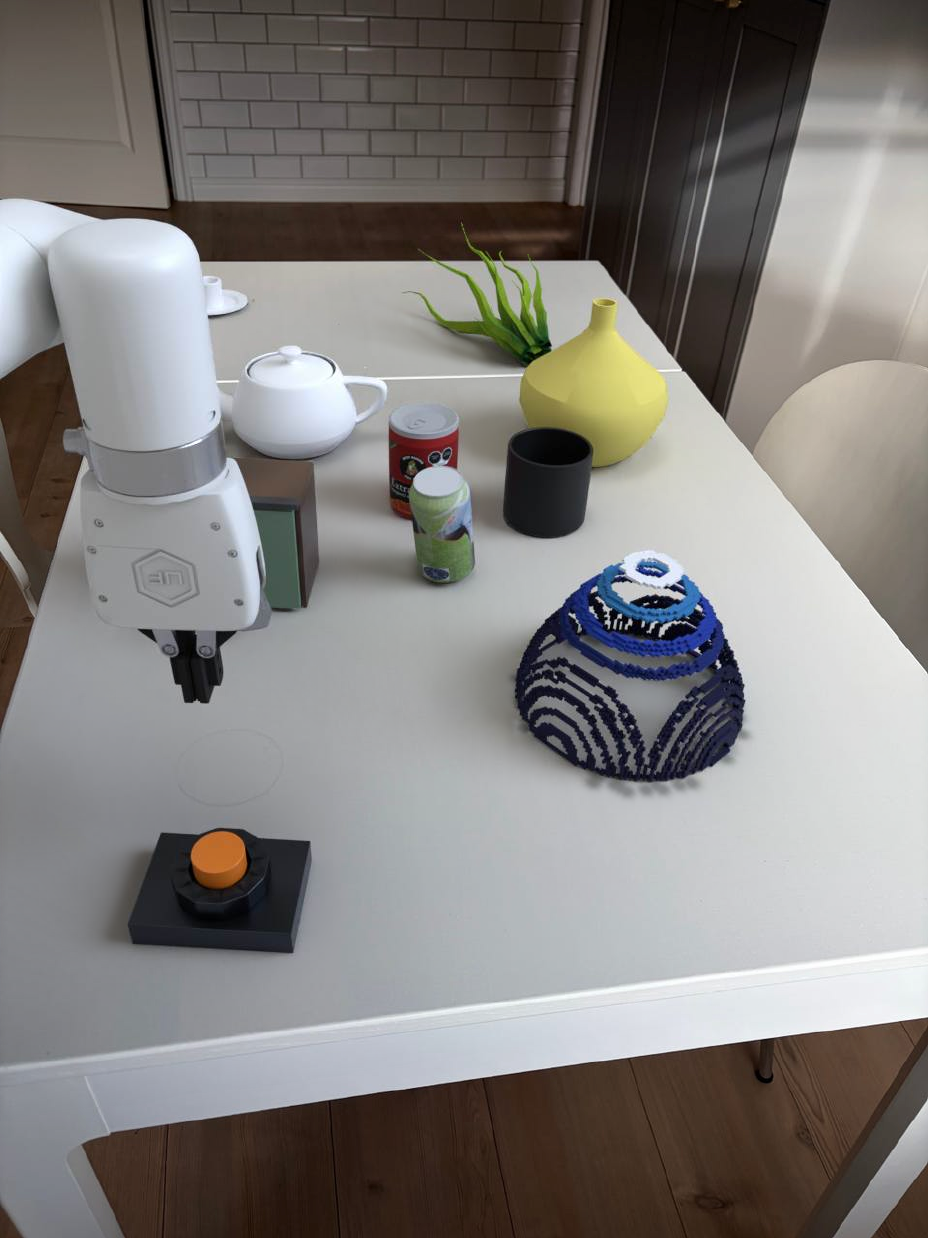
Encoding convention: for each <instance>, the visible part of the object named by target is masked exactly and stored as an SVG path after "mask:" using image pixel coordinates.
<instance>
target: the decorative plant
mask: <svg viewBox="0 0 928 1238" xmlns="http://www.w3.org/2000/svg"><path fill="white" fill-rule="evenodd" d="M460 224H461V228H462V231H463V233H464V236H465V241H466V242H467V245H468V247H469V248H470V250H471V251H472V252H474V253H475V254H477V255H478V256H479V257H480V259H481V260H482V261H483V262H484V264H485V266H486V268H487V270H488V272H489V274H490V277H491V279H492V282H493V283H494V285H495V294H496V295H495V296H496V303H497V312H498V314H499V318H498V317H496V316H495V314H494V312H493V308H492V307H491V306H490V304H489V302H488V300H487V297H486V295H485V293H484V291H483V290H482V289H481V288H480V286H479V285H478V284H477V282H476V281H475V280H474V279H473V277H472V276H471V275H470V274H469V273H466V272H464V271H462V270H458V269H456V268H454V267H451V266H450V265H448V264H445V263H443V262H441V261H439V260H437V259H436V258H433V257H431V256H430V255H428V254H426V253H425V252H424V251H422V250H421V249H420V248H417V249H418V251H420V252H421V253H422V254H423V255H425V256H426V257H428V258H429V259H431V260H432V261H433V262H435V263H436V264H438V265H440V266H441V267H443V268H444V269H446V270H448V271H450V272H451V273H454V274H456V275H458V276H460V277H462V278H463V279H465V281H466V283H467V285H468V287H469V289H470V291H471V293H472V295H473V297H474V299H475V301H476V304H477V308H478V310H479V313H480V315H481V318H482V320H479V319H478V318H477V317H474V319H475V320H469V321H468V320H465V321H463V320H461V321H460V320H459V321H458V320H446V319H444V318H443V317H442V316H441V315H440V314H439V313H438V312H437V311H436V310H435V309H434V307H433V306H432V305H431V303H430V301H429V300H428V298H427V297H425V296H424V295H423V293H421V292H417V291H416V292H415V291H411V290H407V291H403V292H402V294H407V293H412V294H415V295H419V296H420V298H422V299H423V301H424V303H425V305H426V307H427V309H428V311H429V314H431V315H432V316H433V317H434V319H435V320H436V321H437V322H438V323H439V324H440V325H441V326H443V327H445V328H448V329H449V330H453V331H455V332H457V333H459V334H467V335H468V334H469V335H481V336H486V337H488V338H491V339H492V340H493V341H494V342H496V344H497V345H498V346H500V348H502V349H503V350H505V351H506V352H508V353H510V354H511V355H513V357H515V358H516V359H517V361H518V362H520V363H521V364H525V366H527V367H528V366H529V365H530V364H531V363H532V362H533V361H534V360H536V359H538V358H540V357H542V356H543V355H545V354H547V353H549V352H551V351H553V349H552V347H553V345H552V342H551V340H550V335H549V327H548V322H547V319H548V318H547V317H548V315H547V311H546V309H545V306H544V303H543V299H542V294H543V293H542V292H543V287H542V284H541V278H540V274H539V273H540V272H539V270H538V269H537V268H536V266H535V265H534V264H533V262H532V260H531V258H530V256H529V255H527V257H528V260H529V262H530V264H531V265H532V267H533V268H534V270H535V287H534V291H533V293H532V292H531V287H530V285H529V281H528V280H527V279H526V278H525V277H524V276H523V274H522V273H521V272H520V271H519V270H518V269H516V268H514V267H511V266H509V265H507V263H506V262H505V261H504V258H503V257H502V255H501V253H502V251H500V252H499V253H498V256H499V258H500V261H501V263H502V265H503V268H506V269H507V270H509V271H510V272H512V273H513V274H515V275H516V277H517V278H518V280H519V281H520V284H521V288H520V287H519V286H518V285H517V284H516V283H515V282H514V281H512V283H513V284H514V285H515V287H516V288H517V289H518V291H519V294H520V295H519V296H520V301H521V304H520V305H521V306H520V313H519V315H520V317H518V315H517V314H516V313H515V311H514V310H513V309H512V307H511V306H510V303H509V299H508V296H507V293H506V289H505V286H504V282H503V279H502V278H501V276H500V275H499V273H498V269H497V266H496V264H495V262H494V260H493V259H492V257H491V256H490V255H489V253H488V251H485V253H486V254H487V255H488V257H487V256H486V255H485V254H484V253H483V251H482V250H478V249H476V248H475V247H473V246H472V245H471V244H470V242H469V239H468V237H467V235H466V232H465V229H464V225H463V223H462V222H460ZM531 303H532V307H533V309H534V311H535V318H534V316H533V315H532V313H531V311H530V306H531ZM535 320H536V321H535Z"/></svg>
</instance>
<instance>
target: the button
mask: <svg viewBox="0 0 928 1238" xmlns="http://www.w3.org/2000/svg"><path fill="white" fill-rule="evenodd" d="M191 861H192V866H193V871H194V876H195V878H196V880H197V881H198V882H199V883H200V884H201V885H203V886H204V887H207V888H211V889H222V888H226V887H229V886H232V885H233V884H235V883H237V882H238V881H239V880H240V879H241V878H242V877H243V875H244V874H245V872H246V869H247V859H246V852H245V846H244V843H243V841H242V840H241V838H239V837H238V836H237V835H235V834H233V833H230V832H225V831H220V832H213V833H210V834H208V835H206V836H204V837H202V838H201V839H200V840H198V841H197V842H196V844H195V845H194V847H193V849H192V851H191Z"/></svg>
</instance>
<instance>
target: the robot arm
mask: <svg viewBox="0 0 928 1238" xmlns="http://www.w3.org/2000/svg"><path fill="white" fill-rule="evenodd" d="M201 264H202V263H201V259H200V255H199V252H198V250H197V247H196V245H195V244H194V241H193V240H192V239H191V238H190V236H189V235H188V234H187V233H185V232H184V231H183V230H181V229H180V228H178V227H177V226H174V225H173V224H170V223H167V222H162V221H157V220H155V219H154V220H153V219H147V218H127V217H126V218H111V219H109V218H108V219H101V218H97V217H93V216H89V215H86V214H82V213H79V212H75V211H73V210H69V209H66V208H63V207H60V206H56V205H53V204H51V203H47V202H43V201H38V200H33V199H26V198H14V197H13V198H3V199H0V380H2V379H3V378H4V377H6V376H7V375H9V374H10V373H12V372H13V371H14V370H16V369H17V368H18V367H20V366H22V365H23V364H24V363H26V362H27V361H29V360H30V359H31V358H33V357H34V356H36V355H37V354H39V353H42V352H44V351H47V350H49V349H52V348H54V347H56V346H59V345H61V344H64V348H65V353H66V357H67V361H68V365H69V369H70V373H71V379H72V382H73V383H72V384H73V387H74V392H75V397H76V401H77V404H78V405H77V406H78V409H79V414H80V418H81V422H82V426H79V427H77V428H66V429H64V431H63V434H62V445H63V448H64V451H65V452H67V453H74V454H75V453H77V454H78V455H80V456H84V457H85V459H86V461H87V466H88V469H87V471H86V472H85V473H84V474H83V475H82V477H81V478H80V494H79V495H80V499H79V501H80V519H81V533H82V534H81V535H82V544H83V546H82V547H83V554H84V563H85V569H86V574H87V576H86V577H87V581H88V587H89V592H90V596H91V602H92V605H93V608H94V611H95V614H96V616H97V617H98V618H99V620H100V621H102V622H103V623H105V624H107V625H109V626H113V627H115V628H123V629H134V630H135V629H136V630H137V631H138V632H140V633H141V634H143V635H144V636H146V637H147V638H148V639H150V640H151V641H153V642H154V643H155V644H157V646H158V648H159V651H160V653H161V654H162V655H163V656H165V657H166V658H169V662H170V668H171V673H172V677H173V682H174V684H175V686H180V687H181V693H182V698H183V703H184V704H193V703H194V702H199V703H200V704H210V701H211V698H212V695H213V693H214V689H215V687H221V686H222V683H223V679H224V664H223V658H222V652H221V647H222V646H223V645H224V644H225V643H226V642H228V641H229V640H230V639H231V638H232V637H233V636H234V635H235V634H237V632H250V631H254V630H256V631H257V630H260V629H265V628H268V626H269V624H270V622H271V618H272V613H273V610H272V607H270V605H269V602H268V600H267V598H266V595H265V593H264V590H263V588H264V587H265V583H266V572H265V563H264V557H263V551H262V546H261V540H260V536H259V531H258V527H257V522H256V518H255V514H254V511H253V507H252V503H251V500H250V497H249V494H248V491H247V488H246V485H245V482H244V479H243V477H242V474H241V471H240V469H239V467H238V464H237V462H236V461H235V460H234V459H232V458H227V457H228V455H227V449H226V441H225V434H224V428H223V427H224V426H223V418H222V417H221V411H220V404H219V396H218V389H217V387H218V382H217V381H218V380H217V375H216V366H215V360H214V351H213V344H212V337H211V329H210V322H209V315H208V313H207V306H206V298H205V291H204V284H203V269H202V265H201ZM239 600H240V601H239ZM238 601H239V603H238Z"/></svg>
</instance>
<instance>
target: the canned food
mask: <svg viewBox="0 0 928 1238" xmlns="http://www.w3.org/2000/svg"><path fill="white" fill-rule="evenodd" d="M459 441H460V418H459V415H458V412H456V411H455V410H454V409H452V408H451V407H448V406H446V405H443V404H440V403H433V402H414V403H409V404H405V405H402V406H399V407H397V408H396V409H394V410H393V411H392V412H391V413H390V414H389V418H388V497H389V498H388V499H389V503H390V506H391V508H392V510H393V512H395V513H396V514H398V515H399V516H401V517H403V518H405V519H409V520H412V517H411V509H410V501H409V490H410V488H411V486H412V484H413V480H414V478H415V476H416V475H417V474H418V473H419V472H421V471H422V470H424V469H426V468H429V467H434V466H448V467H452V468H454V469H456V470H458V465H459V464H458V463H459V444H460V443H459Z"/></svg>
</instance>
